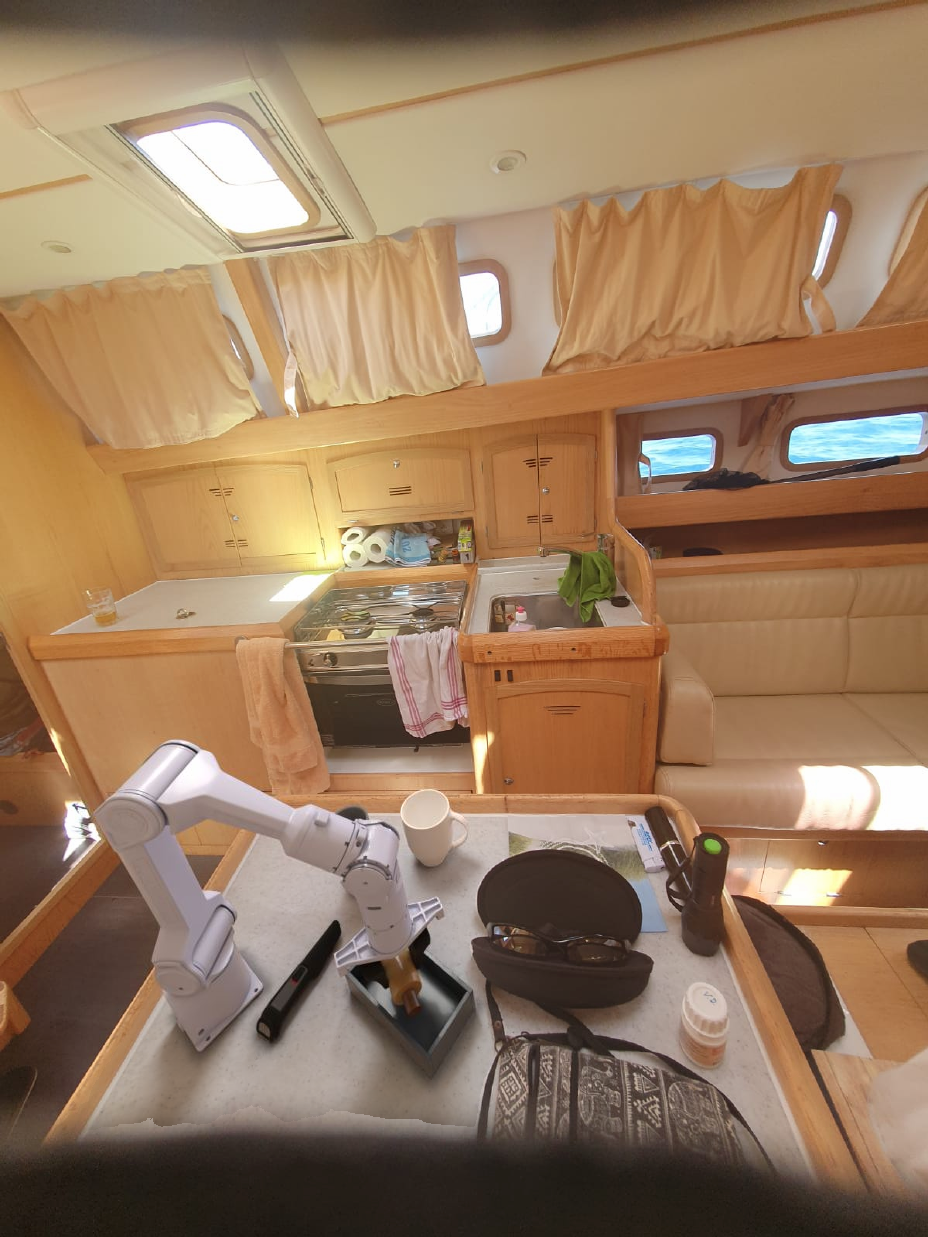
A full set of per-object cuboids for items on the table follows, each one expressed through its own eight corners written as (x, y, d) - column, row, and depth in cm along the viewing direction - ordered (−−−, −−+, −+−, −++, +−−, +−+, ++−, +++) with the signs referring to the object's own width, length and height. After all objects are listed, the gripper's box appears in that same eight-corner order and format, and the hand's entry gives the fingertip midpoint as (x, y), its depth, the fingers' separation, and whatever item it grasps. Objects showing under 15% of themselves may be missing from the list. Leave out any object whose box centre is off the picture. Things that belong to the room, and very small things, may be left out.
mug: (405, 875, 82) (395, 827, 77) (414, 834, 90) (406, 789, 85) (468, 877, 80) (462, 829, 75) (472, 835, 88) (467, 789, 83)
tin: (431, 1080, 56) (427, 1061, 54) (350, 991, 66) (344, 973, 64) (475, 1008, 62) (473, 989, 60) (395, 937, 72) (391, 919, 70)
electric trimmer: (349, 936, 73) (346, 924, 72) (274, 1046, 60) (267, 1033, 59) (332, 927, 75) (328, 914, 73) (255, 1031, 62) (248, 1018, 61)
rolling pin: (403, 1030, 58) (397, 1013, 56) (377, 949, 67) (371, 932, 65) (431, 1010, 59) (426, 994, 57) (401, 934, 68) (397, 917, 67)
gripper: (424, 857, 63) (436, 919, 68) (320, 910, 57) (342, 973, 63) (446, 899, 57) (456, 963, 63) (333, 963, 51) (355, 1027, 57)
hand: (400, 971), depth 62 cm, fingers closed on rolling pin, 4 cm apart
